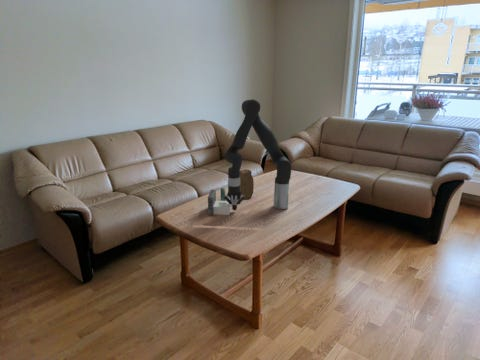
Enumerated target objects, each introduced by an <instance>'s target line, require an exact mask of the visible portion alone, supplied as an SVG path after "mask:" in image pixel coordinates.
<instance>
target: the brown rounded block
mask: <svg viewBox="0 0 480 360" xmlns="http://www.w3.org/2000/svg"><path fill="white" fill-rule="evenodd" d="M252 174H253V173H252V170H250V169H246V168H245V169H242V170H241V169H240V192H241V195H243V196H244V199H243V200H249V199H250V198H252V196H253V194H254V186H255V183H254V178H253V175H252ZM240 197H241V196H240ZM240 197H239V198H238V199H240Z"/></svg>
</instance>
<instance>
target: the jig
mask: <svg viewBox="0 0 480 360" xmlns="http://www.w3.org/2000/svg"><path fill="white" fill-rule="evenodd" d="M215 201H217V191H216V189H210V192H209V194H208V196H207V215H208V216H214V214H213V206H214V203H215Z"/></svg>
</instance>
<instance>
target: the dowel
mask: <svg viewBox="0 0 480 360" xmlns="http://www.w3.org/2000/svg"><path fill="white" fill-rule="evenodd" d="M225 195H226V188H225V187H221V188H220V201H226V199H225V198H224V196H225Z"/></svg>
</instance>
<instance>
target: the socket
mask: <svg viewBox="0 0 480 360" xmlns="http://www.w3.org/2000/svg"><path fill="white" fill-rule="evenodd" d="M231 210H232V204H229V203H228V202H227V201H226V200H225V201H221V200H216V201H215V203H214V206H213V215H219V216H220V215H223V216H230V215H231V214H230V213H231Z"/></svg>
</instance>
